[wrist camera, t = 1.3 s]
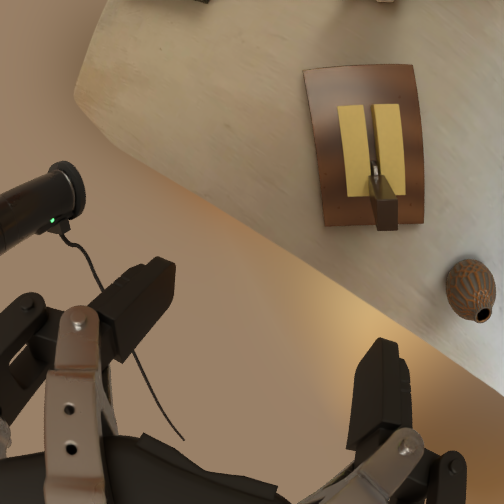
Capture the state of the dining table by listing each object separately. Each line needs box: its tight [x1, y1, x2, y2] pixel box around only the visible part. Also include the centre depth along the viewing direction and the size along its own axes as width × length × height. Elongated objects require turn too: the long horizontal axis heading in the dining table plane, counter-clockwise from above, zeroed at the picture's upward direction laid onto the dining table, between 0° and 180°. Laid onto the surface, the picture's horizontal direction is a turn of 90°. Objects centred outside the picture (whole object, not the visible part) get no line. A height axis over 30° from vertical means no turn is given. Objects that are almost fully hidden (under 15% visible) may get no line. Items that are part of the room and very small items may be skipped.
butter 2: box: [370, 104, 406, 195], centre depth 25 cm, size 9×2×4 cm, turn 11°
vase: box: [446, 259, 496, 323], centre depth 27 cm, size 7×7×9 cm
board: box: [303, 64, 424, 226], centre depth 28 cm, size 18×12×1 cm, turn 11°
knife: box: [368, 160, 398, 231], centre depth 24 cm, size 4×2×12 cm, turn 11°
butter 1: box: [337, 105, 371, 197], centre depth 27 cm, size 9×2×4 cm, turn 11°
